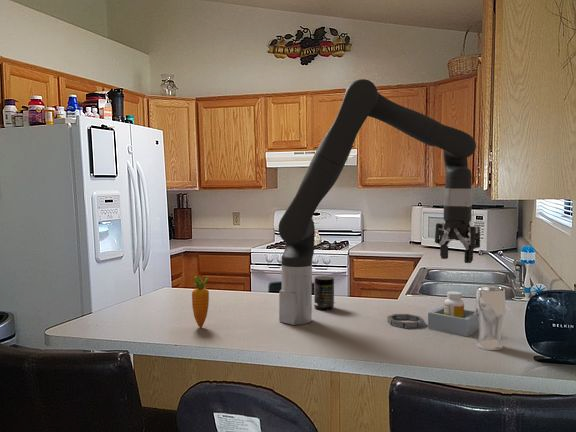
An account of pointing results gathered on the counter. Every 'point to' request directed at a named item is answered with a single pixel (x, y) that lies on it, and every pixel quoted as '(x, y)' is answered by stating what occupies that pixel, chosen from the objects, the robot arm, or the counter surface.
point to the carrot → (200, 301)
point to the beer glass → (490, 316)
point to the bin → (453, 322)
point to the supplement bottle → (454, 305)
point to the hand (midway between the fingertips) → (455, 260)
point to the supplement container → (324, 292)
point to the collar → (393, 321)
